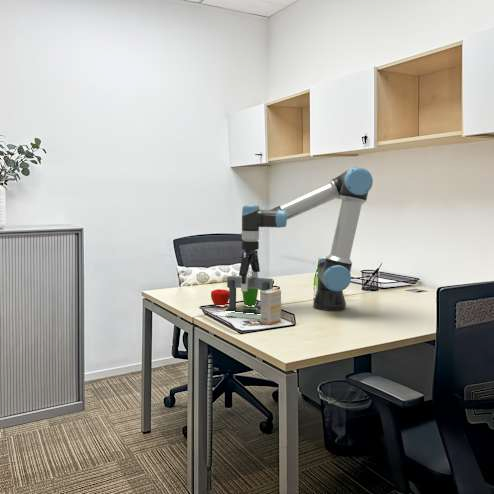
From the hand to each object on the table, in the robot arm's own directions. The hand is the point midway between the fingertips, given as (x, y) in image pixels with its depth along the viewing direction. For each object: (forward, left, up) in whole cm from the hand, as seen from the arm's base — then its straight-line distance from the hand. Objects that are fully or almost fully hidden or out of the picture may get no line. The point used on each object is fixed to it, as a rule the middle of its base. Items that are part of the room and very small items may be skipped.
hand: (249, 288), depth 222 cm
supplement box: (-14, +14, -11) cm, 23 cm away
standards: (0, 0, -11) cm, 11 cm away
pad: (0, +8, -11) cm, 14 cm away
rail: (0, 0, 0) cm, 0 cm away
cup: (+4, -12, -11) cm, 17 cm away
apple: (+17, -7, -11) cm, 21 cm away
